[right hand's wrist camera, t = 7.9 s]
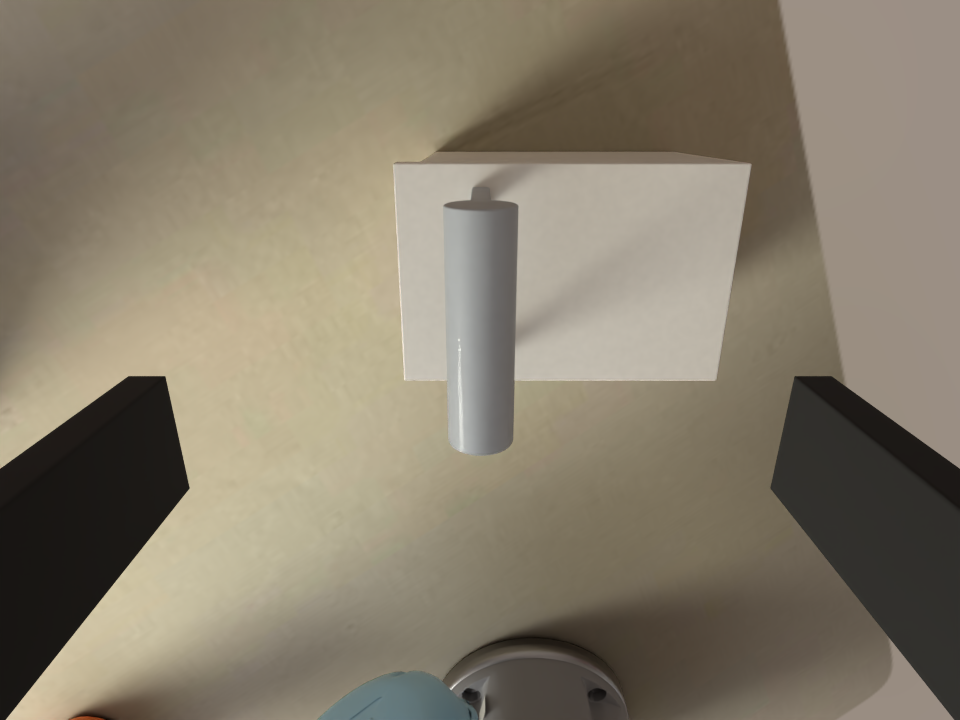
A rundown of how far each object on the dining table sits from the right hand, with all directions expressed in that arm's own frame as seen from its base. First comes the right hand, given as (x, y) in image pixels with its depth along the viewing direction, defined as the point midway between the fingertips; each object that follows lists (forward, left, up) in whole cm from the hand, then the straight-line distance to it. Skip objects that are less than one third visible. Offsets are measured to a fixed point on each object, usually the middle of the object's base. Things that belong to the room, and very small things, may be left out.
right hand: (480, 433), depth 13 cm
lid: (+1, -4, -14) cm, 14 cm away
